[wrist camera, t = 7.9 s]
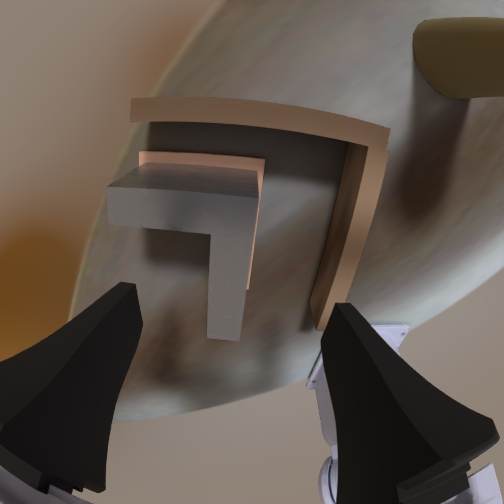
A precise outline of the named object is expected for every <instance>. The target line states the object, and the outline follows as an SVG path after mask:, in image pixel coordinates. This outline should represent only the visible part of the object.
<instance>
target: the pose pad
mask: <svg viewBox="0 0 504 504" xmlns="http://www.w3.org/2000/svg"><path fill="white" fill-rule="evenodd" d="M145 162H153V163H175V164H192V165H205V166H217V167H228V168H238V169H247V170H255V171H257V173H258V188H259V204H260V196H261V188H262V181H263V173H264V165H265V159H264V158H255V157H245V156H235V155H223V154H209V153H191V152H163V151H141V152H139V166H140V165H142V164H144V163H145ZM259 204H258V211H257V218H256V225H255V232H254V240H253V247H252V254H251V261H250V268H249V275H248V282H247V289H249V281H250V274H251V266H252V258H253V250H254V243H255V235H256V227H257V220H258V212H259Z"/></svg>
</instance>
